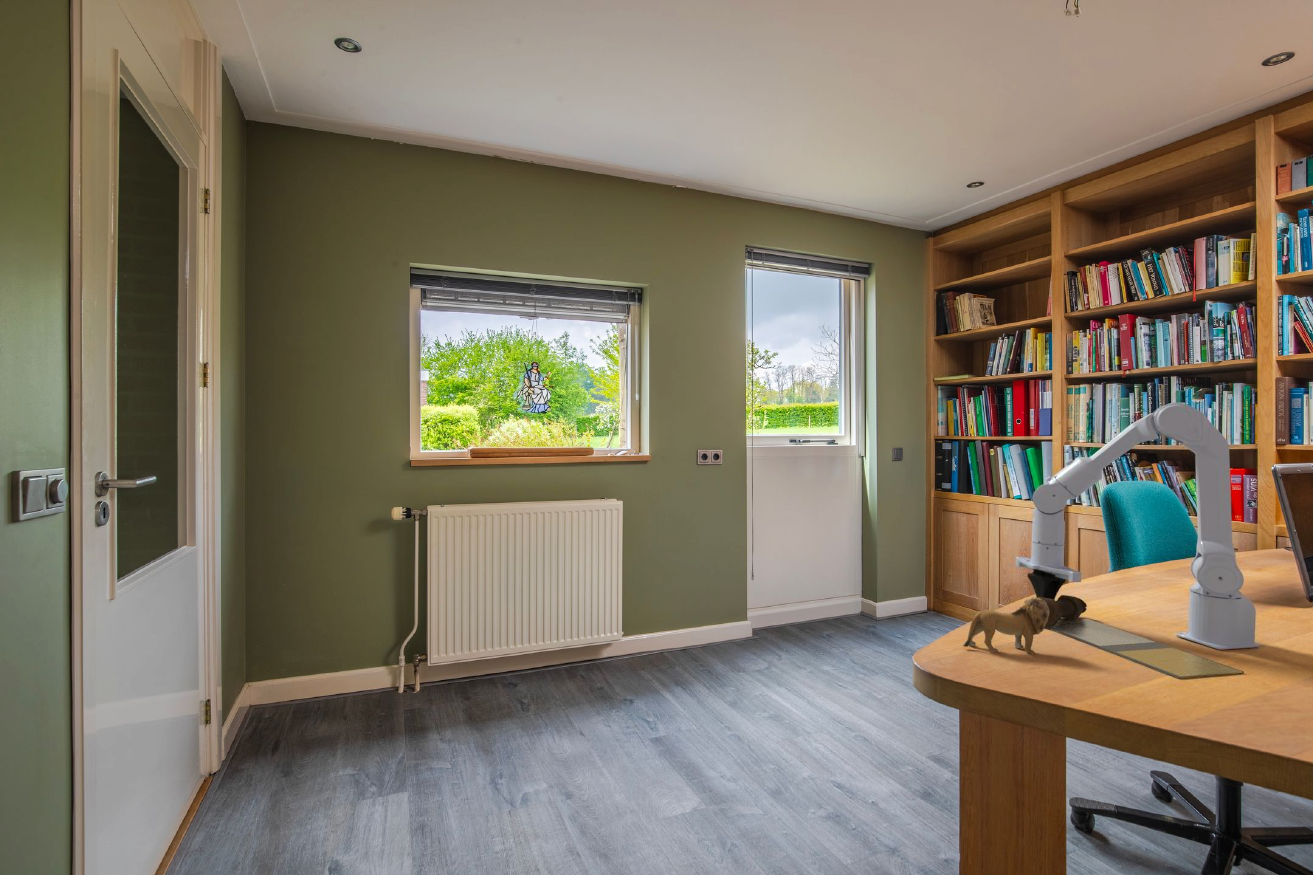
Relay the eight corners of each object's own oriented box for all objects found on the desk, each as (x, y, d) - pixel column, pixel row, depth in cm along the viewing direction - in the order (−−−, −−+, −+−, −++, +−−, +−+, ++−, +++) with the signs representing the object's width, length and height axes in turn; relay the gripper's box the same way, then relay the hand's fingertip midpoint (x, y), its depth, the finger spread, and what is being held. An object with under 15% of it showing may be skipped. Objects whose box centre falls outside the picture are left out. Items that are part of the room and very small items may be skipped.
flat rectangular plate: (1089, 620, 130) (1089, 618, 130) (1243, 673, 103) (1243, 671, 103) (1034, 623, 127) (1034, 621, 127) (1178, 678, 100) (1178, 676, 100)
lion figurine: (1036, 644, 115) (1037, 593, 115) (1056, 655, 109) (1058, 602, 109) (955, 644, 114) (957, 593, 114) (972, 655, 109) (973, 601, 108)
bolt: (1083, 624, 132) (1046, 632, 124) (1060, 607, 136) (1022, 614, 128) (1099, 602, 130) (1063, 609, 122) (1075, 585, 134) (1038, 591, 125)
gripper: (1004, 536, 138) (1002, 600, 139) (1061, 550, 124) (1058, 620, 125) (1032, 536, 140) (1030, 598, 140) (1091, 549, 126) (1088, 619, 126)
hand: (1045, 609), depth 133 cm, fingers closed
